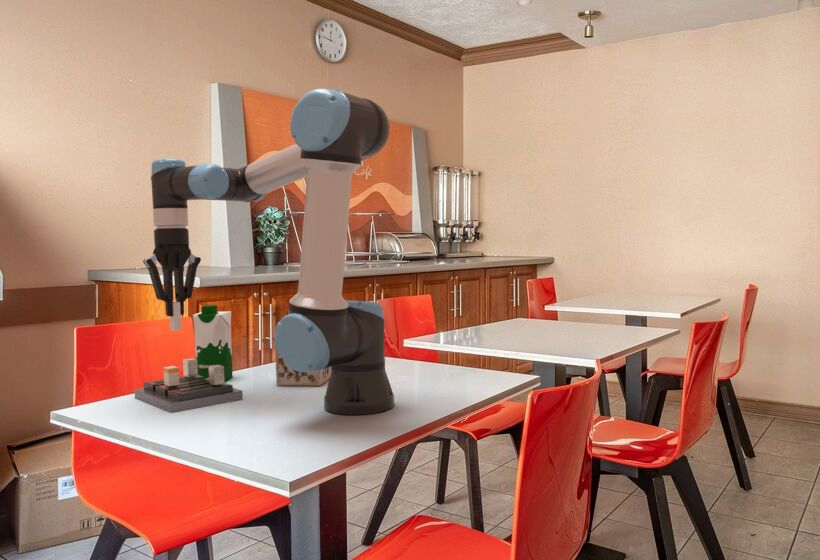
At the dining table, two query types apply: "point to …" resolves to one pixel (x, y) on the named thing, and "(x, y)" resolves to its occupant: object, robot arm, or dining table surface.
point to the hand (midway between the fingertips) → (175, 329)
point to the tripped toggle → (171, 375)
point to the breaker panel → (189, 390)
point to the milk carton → (213, 340)
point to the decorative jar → (298, 375)
